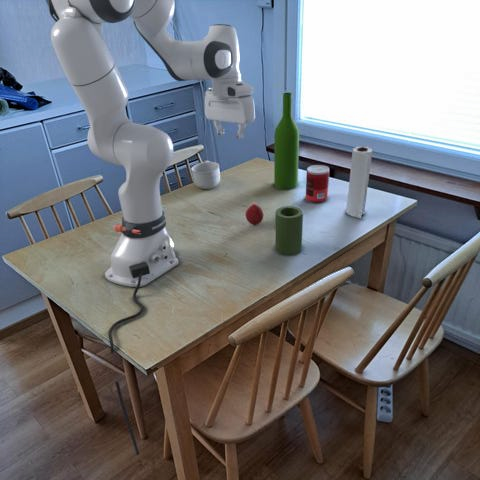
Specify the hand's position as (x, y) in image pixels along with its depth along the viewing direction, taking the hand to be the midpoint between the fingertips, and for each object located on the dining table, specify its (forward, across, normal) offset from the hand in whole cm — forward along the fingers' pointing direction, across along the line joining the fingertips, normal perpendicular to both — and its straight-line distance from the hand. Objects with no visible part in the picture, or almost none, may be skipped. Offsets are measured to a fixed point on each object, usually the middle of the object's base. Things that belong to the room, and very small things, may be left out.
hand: (230, 136), depth 146 cm
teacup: (+23, -28, +10) cm, 38 cm away
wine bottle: (+24, -5, +30) cm, 39 cm away
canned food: (+25, +12, +28) cm, 40 cm away
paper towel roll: (+27, +29, +28) cm, 49 cm away
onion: (+27, +10, -1) cm, 29 cm away
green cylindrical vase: (+28, +29, -5) cm, 41 cm away
